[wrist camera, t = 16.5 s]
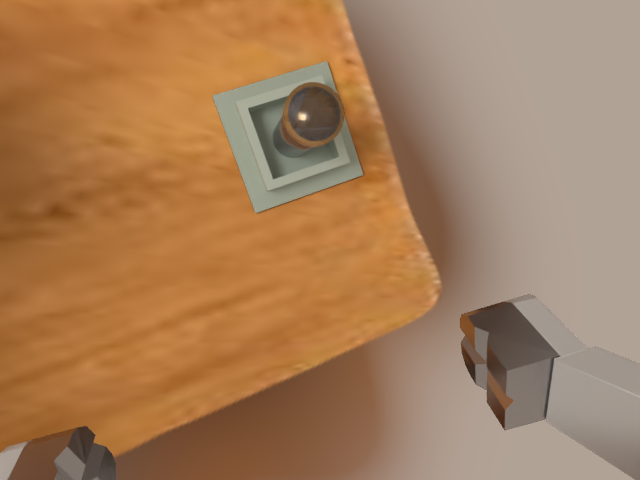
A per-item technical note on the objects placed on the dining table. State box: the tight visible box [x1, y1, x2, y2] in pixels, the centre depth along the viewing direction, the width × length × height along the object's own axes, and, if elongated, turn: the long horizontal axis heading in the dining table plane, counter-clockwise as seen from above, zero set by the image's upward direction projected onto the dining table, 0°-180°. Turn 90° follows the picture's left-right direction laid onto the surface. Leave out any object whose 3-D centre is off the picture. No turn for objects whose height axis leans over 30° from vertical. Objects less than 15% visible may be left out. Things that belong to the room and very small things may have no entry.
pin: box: [273, 82, 344, 158], centre depth 41 cm, size 5×5×14 cm
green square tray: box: [212, 61, 363, 213], centre depth 47 cm, size 14×14×4 cm
